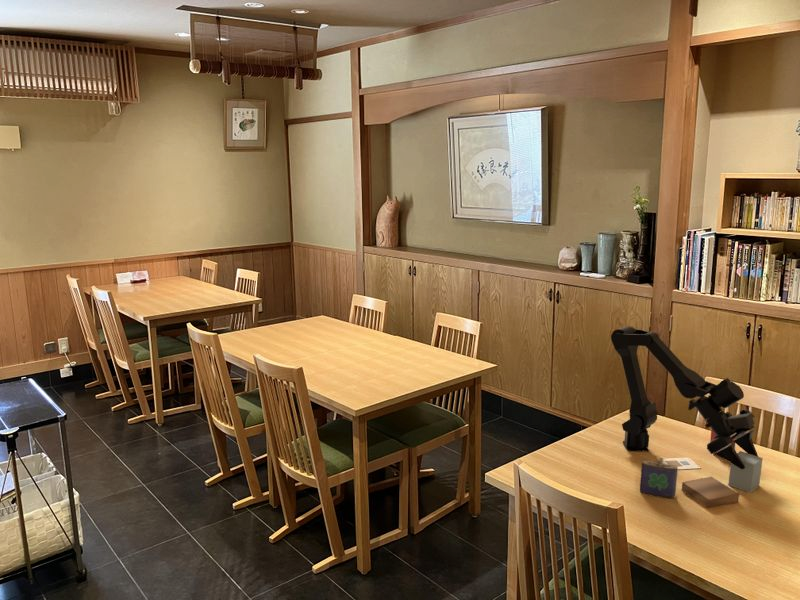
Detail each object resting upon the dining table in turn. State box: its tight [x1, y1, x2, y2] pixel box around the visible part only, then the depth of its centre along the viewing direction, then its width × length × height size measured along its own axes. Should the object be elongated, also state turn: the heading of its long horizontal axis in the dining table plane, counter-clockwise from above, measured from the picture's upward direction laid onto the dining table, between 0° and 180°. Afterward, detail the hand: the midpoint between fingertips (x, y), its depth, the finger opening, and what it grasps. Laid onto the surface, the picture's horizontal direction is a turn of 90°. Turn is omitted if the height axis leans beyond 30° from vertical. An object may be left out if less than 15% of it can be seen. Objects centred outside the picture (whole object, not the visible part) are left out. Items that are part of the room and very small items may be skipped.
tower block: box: [727, 450, 764, 494], centre depth 184 cm, size 6×6×8 cm
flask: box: [639, 457, 678, 499], centre depth 179 cm, size 9×3×11 cm, turn 68°
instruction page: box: [657, 457, 701, 470], centre depth 197 cm, size 10×7×1 cm
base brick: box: [681, 476, 740, 509], centre depth 178 cm, size 10×10×3 cm
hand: (750, 463), depth 182 cm, fingers open, 9 cm apart
